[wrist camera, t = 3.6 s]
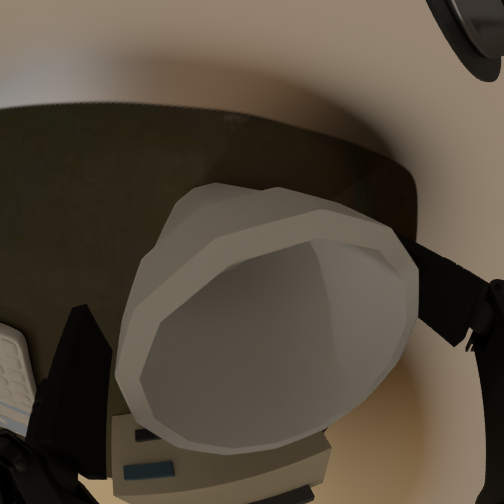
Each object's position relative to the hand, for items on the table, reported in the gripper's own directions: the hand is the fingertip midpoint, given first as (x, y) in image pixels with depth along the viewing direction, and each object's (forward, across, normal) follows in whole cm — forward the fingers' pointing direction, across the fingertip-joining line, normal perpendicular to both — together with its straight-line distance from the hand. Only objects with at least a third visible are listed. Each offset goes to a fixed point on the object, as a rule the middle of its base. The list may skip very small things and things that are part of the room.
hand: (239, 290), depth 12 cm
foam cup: (+8, 0, 0) cm, 8 cm away
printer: (+8, -6, -24) cm, 26 cm away
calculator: (+8, -29, -9) cm, 31 cm away
